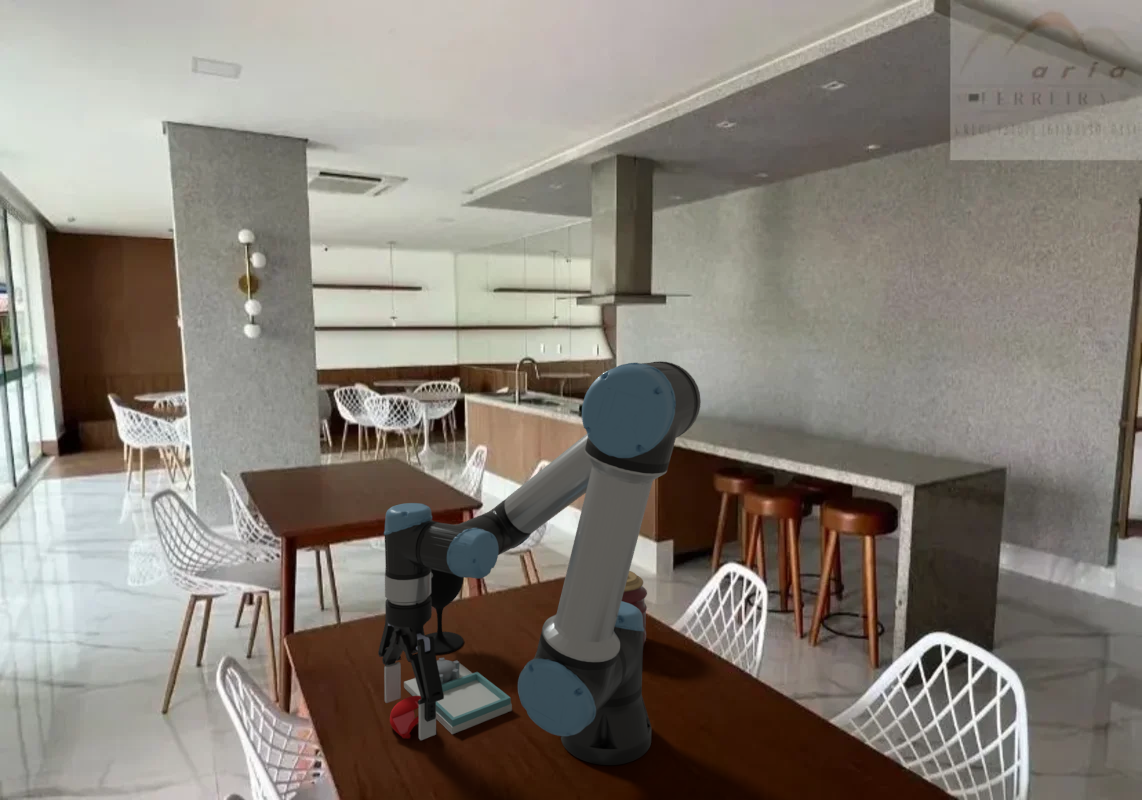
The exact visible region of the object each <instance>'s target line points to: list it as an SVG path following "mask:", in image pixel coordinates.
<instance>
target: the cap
mask: <svg viewBox="0 0 1142 800" xmlns="http://www.w3.org/2000/svg"><path fill="white" fill-rule="evenodd" d="M420 699H421V696H412V695H410V696H407V697H405V698H403V699H401V700H400V701H398V702H397V703H396V704H395V705H394V706H393V708H392V709H391V711H390V714H389V715H390V716H389V724H390V726H391V728H392V729H393V731H394V732H395V733H397V734H398V735H399V736H400V737H401V738H402V739H408V740H409V739H411V738H412V737H411V736H412V734H411V732H412V730H413V729H414V727H415V726H417V725H418V724H419V715H418V716H416V717H415V710H416V709H419V704H418V701H419V700H420Z"/></svg>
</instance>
